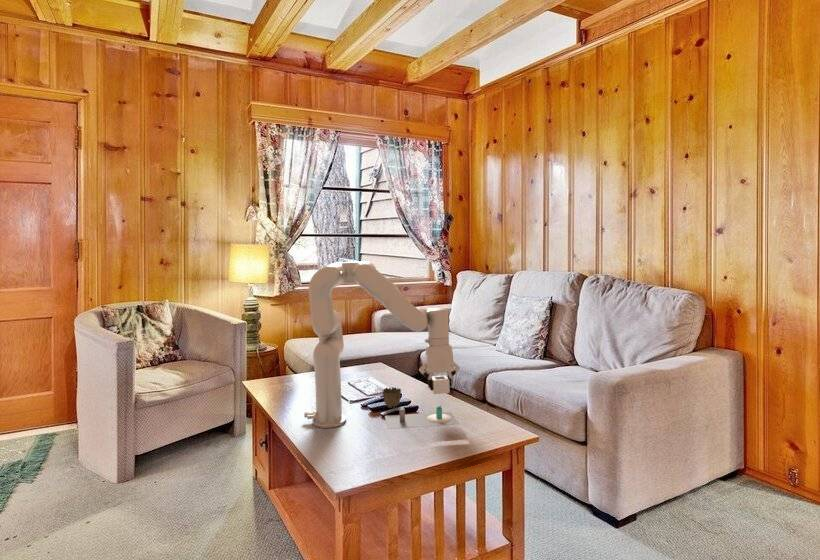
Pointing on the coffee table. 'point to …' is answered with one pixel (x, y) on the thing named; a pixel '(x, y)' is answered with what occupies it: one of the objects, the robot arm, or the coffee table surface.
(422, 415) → the tool board
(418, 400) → the coffee table surface
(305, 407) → the coffee table surface
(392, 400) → the cup
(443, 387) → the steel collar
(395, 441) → the coffee table surface
